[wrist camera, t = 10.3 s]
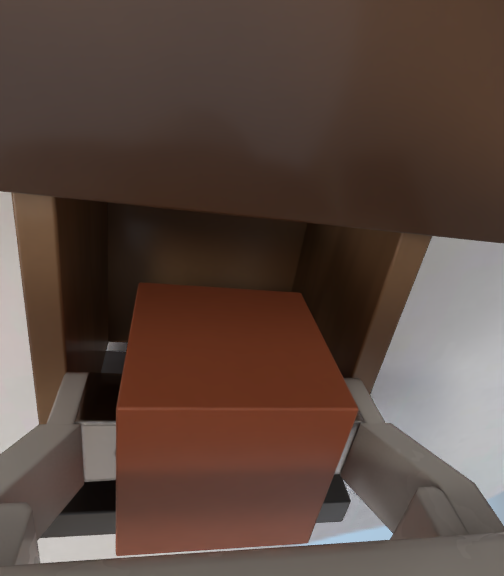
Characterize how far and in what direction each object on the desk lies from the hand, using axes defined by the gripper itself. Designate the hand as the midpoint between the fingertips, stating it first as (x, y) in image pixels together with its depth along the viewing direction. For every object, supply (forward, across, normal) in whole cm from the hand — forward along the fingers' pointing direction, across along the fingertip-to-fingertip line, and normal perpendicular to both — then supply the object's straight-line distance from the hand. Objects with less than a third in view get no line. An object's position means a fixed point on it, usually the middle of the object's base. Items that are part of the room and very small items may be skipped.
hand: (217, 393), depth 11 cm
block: (+2, 0, 0) cm, 2 cm away
